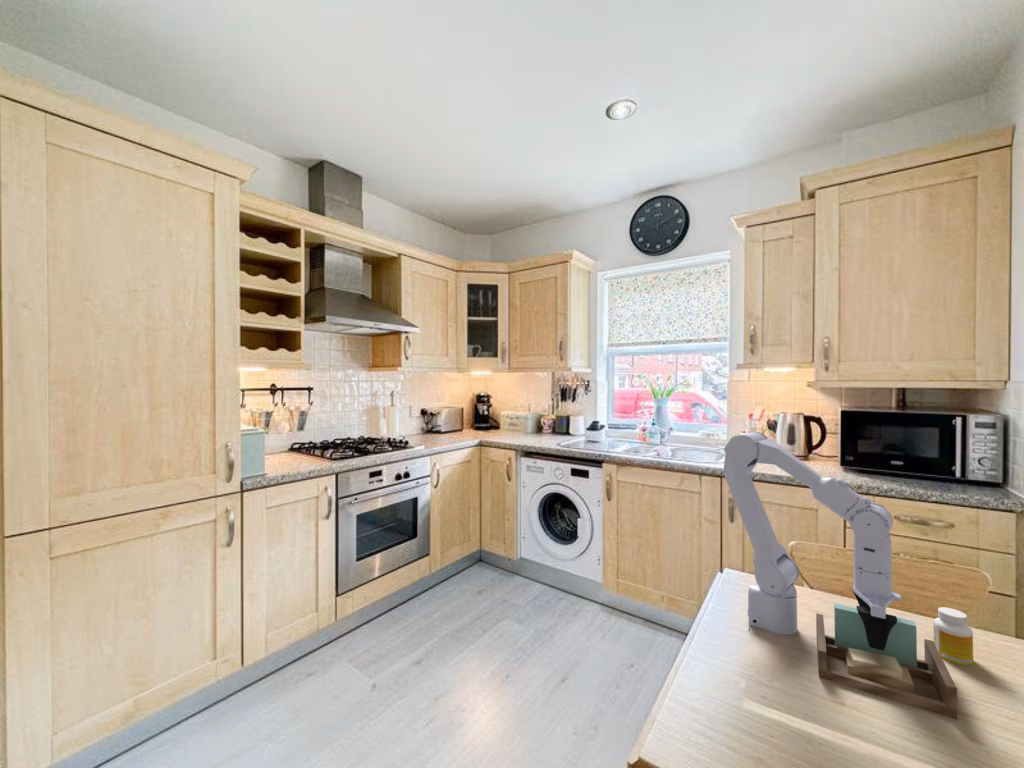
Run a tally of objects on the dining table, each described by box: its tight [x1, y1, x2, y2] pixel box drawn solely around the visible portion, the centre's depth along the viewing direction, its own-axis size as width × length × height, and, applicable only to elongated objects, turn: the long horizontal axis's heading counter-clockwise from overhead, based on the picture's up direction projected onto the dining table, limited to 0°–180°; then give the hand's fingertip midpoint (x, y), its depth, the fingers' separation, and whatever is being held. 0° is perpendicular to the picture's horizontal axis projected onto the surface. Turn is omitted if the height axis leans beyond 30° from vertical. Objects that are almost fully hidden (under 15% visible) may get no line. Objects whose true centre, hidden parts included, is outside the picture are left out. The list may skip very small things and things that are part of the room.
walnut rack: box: [815, 613, 958, 721], centre depth 79 cm, size 18×15×6 cm
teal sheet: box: [833, 603, 918, 668], centre depth 83 cm, size 12×2×9 cm, turn 56°
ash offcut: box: [848, 648, 903, 679], centre depth 79 cm, size 7×4×2 cm, turn 64°
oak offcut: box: [846, 652, 914, 693], centre depth 78 cm, size 9×5×2 cm, turn 56°
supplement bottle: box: [933, 606, 974, 667], centre depth 83 cm, size 5×5×10 cm
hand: (873, 637), depth 83 cm, fingers open, 7 cm apart
